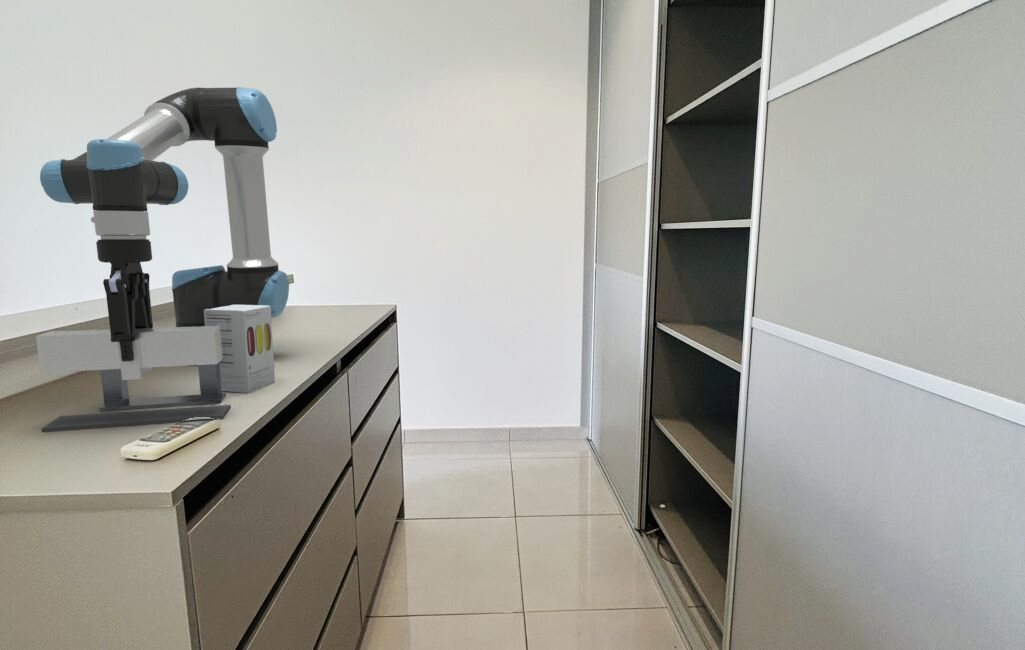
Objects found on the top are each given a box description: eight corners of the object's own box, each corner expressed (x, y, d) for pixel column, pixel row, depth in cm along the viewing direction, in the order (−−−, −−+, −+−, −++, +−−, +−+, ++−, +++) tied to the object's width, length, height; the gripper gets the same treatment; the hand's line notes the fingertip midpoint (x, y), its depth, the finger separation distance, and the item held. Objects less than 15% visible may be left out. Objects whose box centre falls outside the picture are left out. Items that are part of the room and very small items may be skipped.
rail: (54, 366, 98) (50, 331, 97) (222, 358, 105) (219, 325, 104) (40, 372, 94) (35, 336, 93) (216, 364, 100) (214, 329, 99)
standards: (112, 401, 111) (105, 340, 109) (226, 394, 116) (222, 335, 114) (97, 412, 104) (89, 347, 102) (219, 404, 109) (214, 342, 107)
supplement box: (248, 393, 117) (242, 310, 114) (208, 391, 118) (201, 309, 116) (276, 381, 126) (271, 304, 123) (238, 379, 128) (233, 303, 125)
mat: (60, 419, 100) (60, 416, 100) (230, 407, 107) (230, 404, 107) (41, 431, 94) (41, 428, 94) (223, 418, 101) (222, 415, 101)
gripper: (118, 237, 103) (131, 364, 107) (72, 238, 86) (90, 390, 90) (165, 237, 105) (177, 362, 109) (129, 238, 88) (144, 387, 92)
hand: (137, 375), depth 100 cm, fingers closed on rail, 4 cm apart
